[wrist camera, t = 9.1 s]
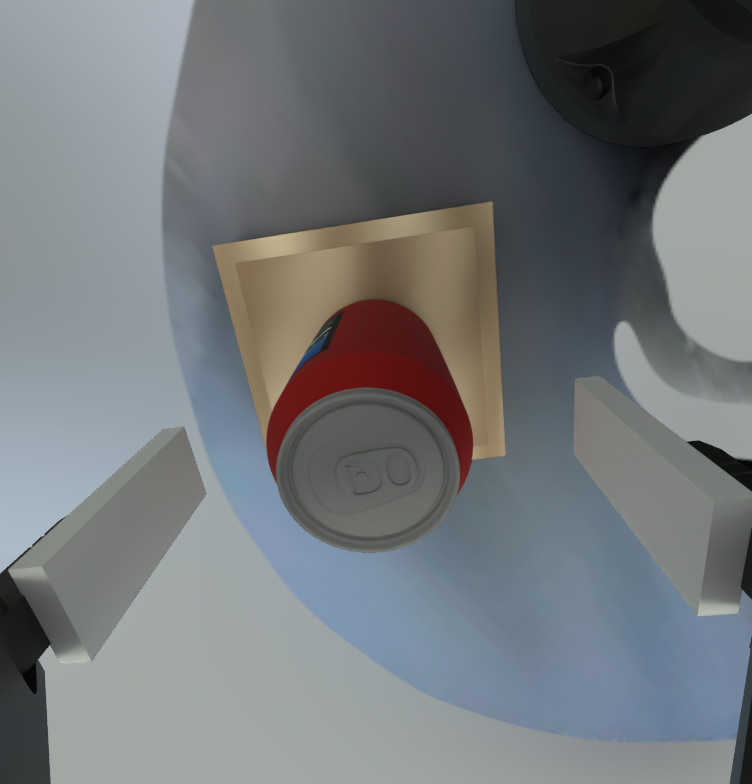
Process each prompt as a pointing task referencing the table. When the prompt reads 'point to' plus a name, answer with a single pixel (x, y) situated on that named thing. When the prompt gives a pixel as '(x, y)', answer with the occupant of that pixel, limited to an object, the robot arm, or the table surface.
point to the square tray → (373, 282)
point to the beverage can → (370, 432)
